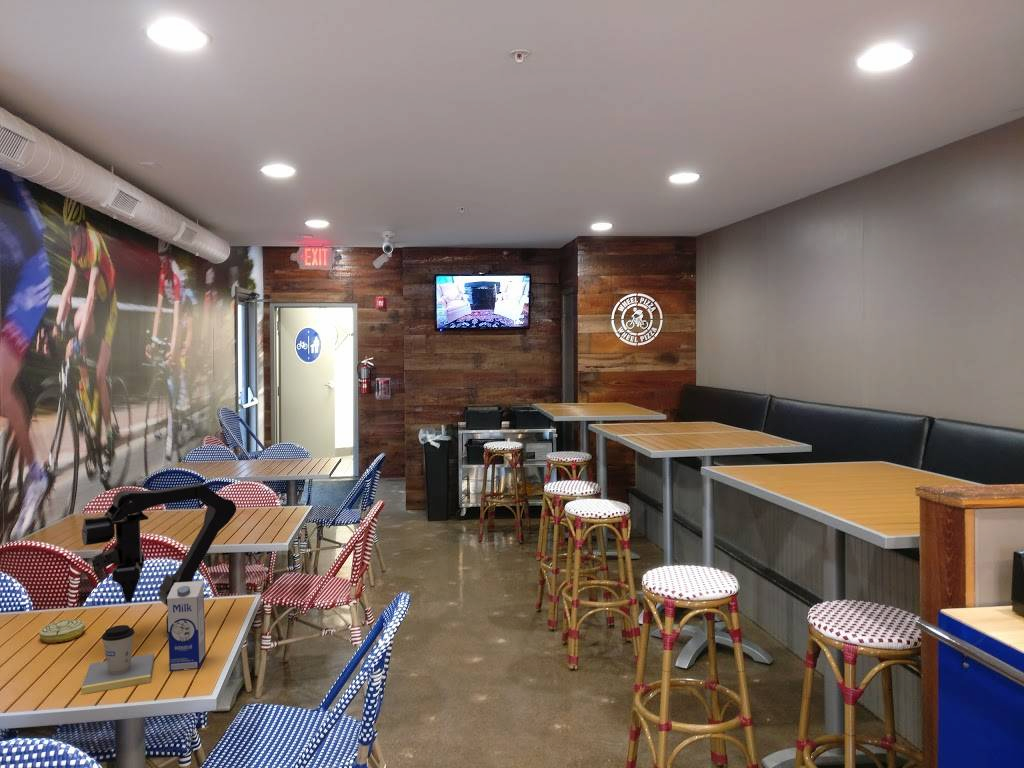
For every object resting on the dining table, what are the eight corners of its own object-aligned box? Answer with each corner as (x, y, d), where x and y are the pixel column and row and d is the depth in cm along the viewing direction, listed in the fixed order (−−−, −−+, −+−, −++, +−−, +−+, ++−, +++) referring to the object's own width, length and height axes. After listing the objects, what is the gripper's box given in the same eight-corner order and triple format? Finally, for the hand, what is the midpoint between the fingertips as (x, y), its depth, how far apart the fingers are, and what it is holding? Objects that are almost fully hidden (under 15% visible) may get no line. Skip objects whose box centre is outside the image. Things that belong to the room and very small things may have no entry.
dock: (154, 659, 180) (153, 653, 180) (150, 682, 167) (150, 676, 167) (90, 669, 174) (90, 663, 174) (81, 694, 161) (81, 688, 161)
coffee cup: (132, 660, 176) (131, 621, 175) (138, 670, 170) (137, 629, 170) (100, 668, 171) (99, 628, 171) (105, 679, 166) (104, 637, 165)
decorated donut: (69, 627, 202) (68, 614, 202) (93, 634, 197) (93, 620, 197) (31, 641, 193) (30, 627, 192) (55, 647, 188) (55, 633, 188)
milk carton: (206, 657, 181) (204, 579, 180) (199, 668, 174) (197, 588, 173) (176, 659, 179) (174, 581, 179) (168, 671, 173) (166, 590, 172)
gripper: (98, 533, 193) (100, 590, 194) (88, 550, 176) (90, 612, 177) (144, 529, 198) (145, 584, 198) (138, 545, 181) (140, 605, 181)
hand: (130, 596), depth 189 cm, fingers open, 9 cm apart
